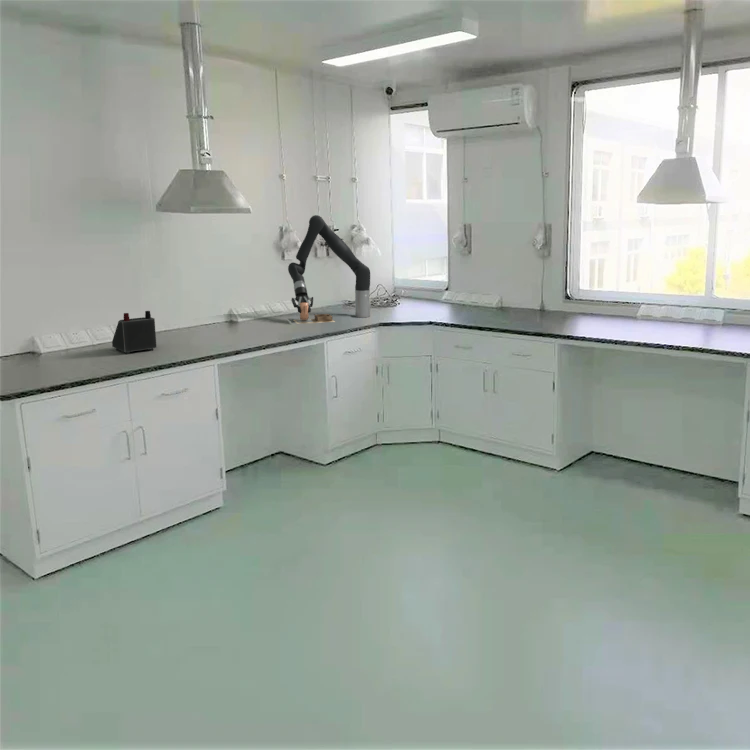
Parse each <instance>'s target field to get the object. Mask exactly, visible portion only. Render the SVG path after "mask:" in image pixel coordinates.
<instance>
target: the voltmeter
mask: <svg viewBox="0 0 750 750" xmlns="http://www.w3.org/2000/svg"><path fill="white" fill-rule="evenodd" d="M151 316H152V315H151V310H145V314H144V317H137V318H136V317H135V318H130V315H129V312H124V313H123V319H120V320H118V322H117V325H116V328H115V331H114V335H113V338H112V341H111V347H112V348H114V349H115V350H116V351H121V352H124V353H125V354H126V355H130V354H131V352H135V351H144V350H148V351H149V352H152V351H154V349H157V346H158V345H157V334H156V321H155V318H154V317H151Z"/></svg>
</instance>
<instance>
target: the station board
mask: <svg viewBox="0 0 750 750" xmlns="http://www.w3.org/2000/svg"><path fill="white" fill-rule="evenodd" d="M292 321H294V323H295V324H297V325H298V324H317V323H319V324H320V323H322V324H323V323H336V321H335V320H334V319H333V316H332V315H331V314H329V313H324V314H323V313H322V314H314V317H313V318H309V319H308V320H301V319H300V318H299V319H293V320H292Z"/></svg>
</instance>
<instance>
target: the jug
mask: <svg viewBox="0 0 750 750" xmlns="http://www.w3.org/2000/svg"><path fill="white" fill-rule="evenodd" d="M300 309H301V313H299V319H301V320H308V319H310V318H309V317H310V316H309V312H308V302H301V303H300Z"/></svg>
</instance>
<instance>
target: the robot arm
mask: <svg viewBox="0 0 750 750" xmlns="http://www.w3.org/2000/svg"><path fill="white" fill-rule="evenodd" d="M308 223H309V224H308V228H307V232H306V234H305V237H304V239H303V241H302V242H301V244H300V246H299V248H298V250H297V253H296V255H295V258H296V260H298V261H299V263H297V262H290V263H288V267H287V270H288V274H289V275H290V277H291V280H292V282H293V289H294V295H295V297H291V300H290V301H291V303H292V305H293V307H294V308H296V309H297V312H298V313H299V314H300V313H301V309H300V303H301V302H308V314H310V313H311V311H312V308H313V305H314V297H313V296H312V297H310V296H309V295H308V290H307V285H306V283H305V277H304V276H303V275H304V273H305V271H306V266H307V260H308V258H309V255H310V253H311V251H312V248H313V245H314V243H315V241H316V238H317V237H318V235H320V237H321V238H323V240H324V242H325V243H326V245H327V246H328V247H329V249H330V250H331V251H332V252H333V253H334V254H335V255H336V256H337V257H338V258H339V259H340V260H341V261H342V262H343V263H345V264H346V265H347V266H348V267H349V268H350V270H351V271H352V272H353V274H354V276H355V285H354V286H355V287H354V288H355V289H354V290H355V291H354V293H355V294H354V296H355V297H354V305H355V306H354V307H355V309H354V311H355V312H354V313H355V314H354V315H355V316H354V317H355V318H356V317H357V318H371V301H370V294H371V293H370V286H371V270H370V268H369V267H368V266H367V265H365V263H363V262H362V261H360V260H359V258H357V257H356V255H355V254H354V252H353V251H352V249H351V248H350V247H349V246H348V244H347V243H346V242H345V241H344V239H342V238H341V237H340V236H339V235H338V234H337V233H335V232H334V231H333V230H332V229H331V228H330V227H329V225H328V224H327V223H326V221H325V220H324V219H323V217H322V216H320V215H316V214H315V215H312V216H311V217H310V218H309V221H308ZM296 302H297V303H298V304H297V303H296Z"/></svg>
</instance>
